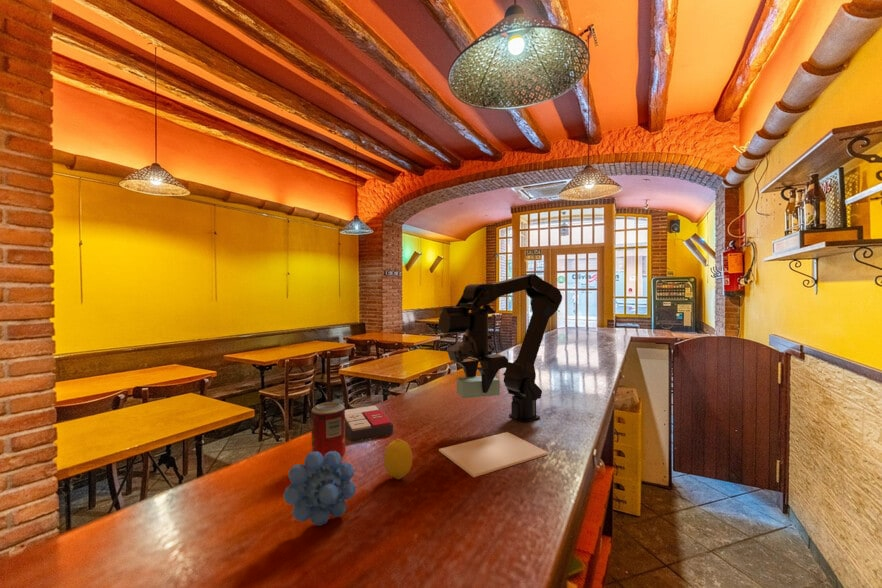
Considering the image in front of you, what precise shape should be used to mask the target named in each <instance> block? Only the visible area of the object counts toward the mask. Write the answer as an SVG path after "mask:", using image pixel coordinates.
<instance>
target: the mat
mask: <svg viewBox="0 0 882 588" xmlns="http://www.w3.org/2000/svg"><path fill="white" fill-rule="evenodd" d="M438 452H439V453H441V454H442V455H444V456H445V457H446V458H447V459H449V460H450V461H451V462H453V463H454V464H455V465H456V466H458V467H459V468H461V469H462V470H463V471H465V472H466V473H467V474H468V475H470V476H471V477H472V478H476V477H480V476H482V475H486V474H489V473H492V472H496V471H499V470H502V469H506V468H508V467H509V468H510V467H511V466H515V465H519V464H521V463H525V462H528V461H532V460H534V459H537V458H542V457H544V456H546V455H547V456H548V455H549V451H546V450H544V449H542V448H540V447H538V446H536V445H535V444H532V443H530V442H528V441H526V440H524V439H523V438H520V437H519V436H516V435H514V434H512V433H510V432H509V431H506V432H502V433H498V434H494V435H491V436H490V435H489V436H486V437H482V438H481V437H480V438H479V439H473V440H469V441H466V442H461V443H458V444H455V445H450V446H446V447H441V448H438Z"/></svg>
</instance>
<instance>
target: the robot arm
mask: <svg viewBox="0 0 882 588" xmlns="http://www.w3.org/2000/svg"><path fill="white" fill-rule="evenodd" d="M521 291H524V292H525V294H526V295H527V296H528V297H529V298H530V299H531V300H530V309H531V316H530V319H529V322H528V326H527V328H526V330H525V335H524V337H523V340H522V344H521V347H520V350H519V352H518V355H517V358H516V360H514V361H513V362H510V361H509V359H508V357H507V356H505V355H501V354H497V353H496V354H493V350H489V340H492V338H493V337H492V334H489V315H492V314H495V313H496V311H495V310H494V309H493V308H492V307H491V305H490V304H492V303H493V302H495V301H496V300H498V298H500V297H503V296H506V295H510V294H515V293H517V292H521ZM462 292H463V293H462V295H461V297H460V299H459V300H458V301H457V303H456V305H455V306H443V307H442V312H441V313H440V315H439V319H438V327H439V330H440V332H441V333H443V335H445V334H448V335H449V334H457V333H466V334H463V336H462V341H459V342H457V343H455V344H453V345H452V346H450V347H448V348H447V349H446V352H447V355H448V357H449V360H450V361H451V362H455V363H456V364H458V365H459V366H461V368H462V370H463V373H464V376H465V377H475V376H477V371H478V372H479V373H480V376H481V378H482V389H483V393H487V392H488V390H489V388H490V386H491V383H492V381H493V379H494V377H495V378H496V375H497V374H498V372H499V370H501V369H505V371H504V372H503V374H502V376H504V377H503V383H504V386H505V387H506V389H507V392H508V394H509V395H512V396H511V399H512V400H511V413H509V414H508V417H510V418H512V419H515V420H516V421H517V420H518V421H519V422H521V423H527V422H531V421H535V419H536V420H539V418H540V419H541V416H539V415H537V400H539V399H541V398H542V394H543V390H542V389H541V388H540V387H539V386H538V385H537V384H536V377H537V375H536V369H535V362H536V359H537V356H538V354H539V350H540V347H541V344H542V341H543V338H544V335H545V332H546V329H547V326H548V322H549V320H550V318H551V317H552V316H554V314H555V313H556V312H558V310H559V309H560V308H559V307H560V306H561V303H562V301H563V295H562V293H561V291H560V289H558V287H556V286H554V285H553V284H552V283H549V282H548V281H546V280H544V279H542V278H541V277H539V276H538V275H537V274H534V273H527V274H522V275H520V276H516V277H512V278H508V279H505V280H501V281H497V282H493V283H471V284H470V283H469V284H467V285H465V287H464V289H463V291H462ZM479 365H480V366H479Z"/></svg>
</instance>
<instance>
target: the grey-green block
mask: <svg viewBox="0 0 882 588" xmlns="http://www.w3.org/2000/svg"><path fill="white" fill-rule="evenodd" d="M500 392H501V391H500V379H499V378H497V377H496V376H495V377H494V379H493V381H492V383H491V386H490V388H489V390H488V392H487V393H483V389H482V378H481V375H479V376H478V375H476V376H475V377H466V376H463V377H456V393H457V394H458V395H459V396H460V397H461V398H462V399H470V398H480V397H481V398H482V397H493V396H500Z"/></svg>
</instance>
